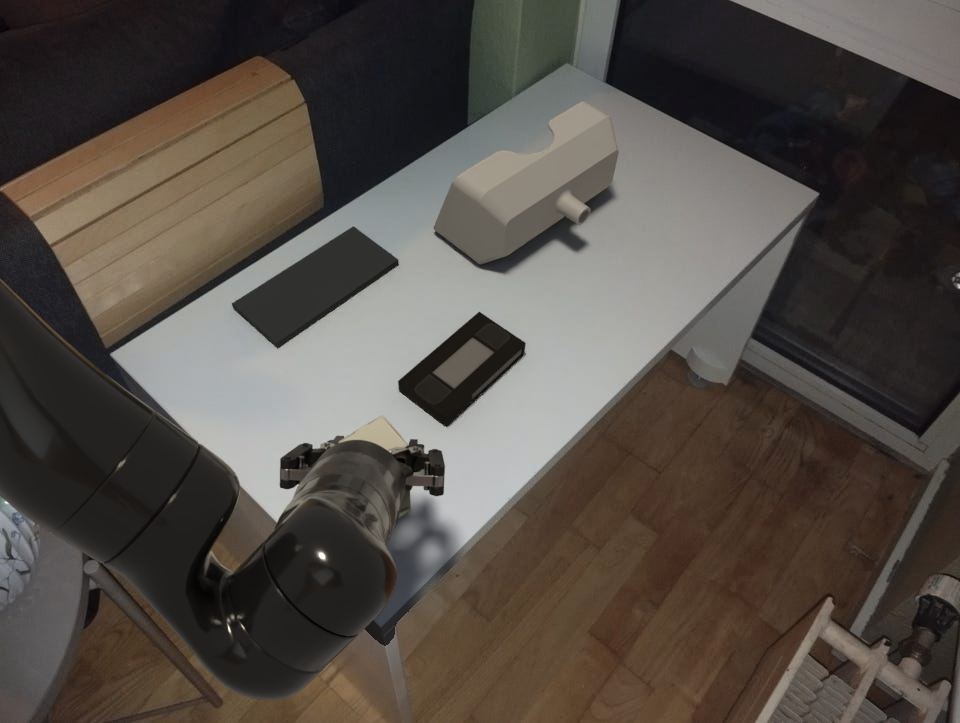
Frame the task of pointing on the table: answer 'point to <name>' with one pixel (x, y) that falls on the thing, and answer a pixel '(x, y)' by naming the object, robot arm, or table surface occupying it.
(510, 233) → the tank
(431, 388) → the vhs tape
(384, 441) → the box
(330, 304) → the scrub mat
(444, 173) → the table surface
